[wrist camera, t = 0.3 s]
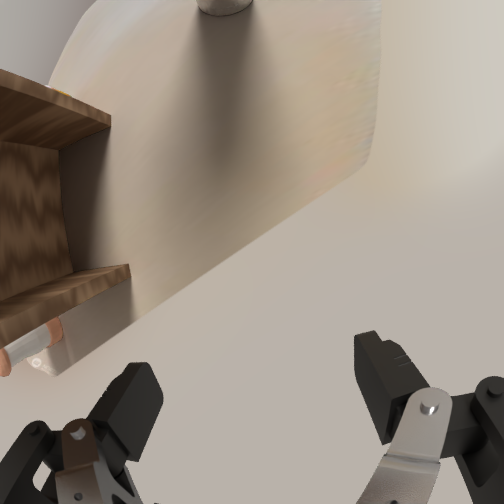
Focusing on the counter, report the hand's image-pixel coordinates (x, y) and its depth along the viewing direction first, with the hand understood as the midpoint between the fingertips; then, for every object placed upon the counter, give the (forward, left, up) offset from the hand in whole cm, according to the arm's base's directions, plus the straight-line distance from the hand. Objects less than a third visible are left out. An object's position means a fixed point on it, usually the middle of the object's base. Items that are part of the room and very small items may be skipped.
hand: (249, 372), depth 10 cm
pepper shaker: (+9, -45, -28) cm, 54 cm away
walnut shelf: (-12, -28, -28) cm, 41 cm away
